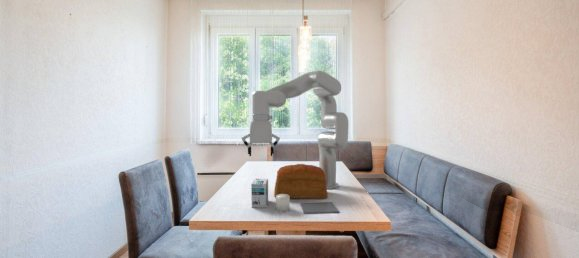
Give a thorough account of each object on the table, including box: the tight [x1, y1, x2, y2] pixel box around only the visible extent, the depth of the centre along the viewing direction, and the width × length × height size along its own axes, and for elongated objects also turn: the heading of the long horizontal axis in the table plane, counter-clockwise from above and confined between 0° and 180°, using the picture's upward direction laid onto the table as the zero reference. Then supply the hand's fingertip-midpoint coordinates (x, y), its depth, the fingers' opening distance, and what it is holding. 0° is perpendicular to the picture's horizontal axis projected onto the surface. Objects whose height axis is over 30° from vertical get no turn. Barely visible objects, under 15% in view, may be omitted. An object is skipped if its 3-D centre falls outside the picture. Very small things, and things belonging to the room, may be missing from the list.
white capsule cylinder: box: [275, 194, 291, 213], centre depth 119 cm, size 6×6×6 cm
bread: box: [273, 163, 329, 200], centre depth 140 cm, size 16×27×16 cm, turn 90°
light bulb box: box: [250, 178, 269, 209], centre depth 126 cm, size 11×7×11 cm, turn 179°
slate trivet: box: [299, 201, 340, 215], centre depth 121 cm, size 12×15×1 cm
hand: (260, 155), depth 125 cm, fingers open, 9 cm apart
